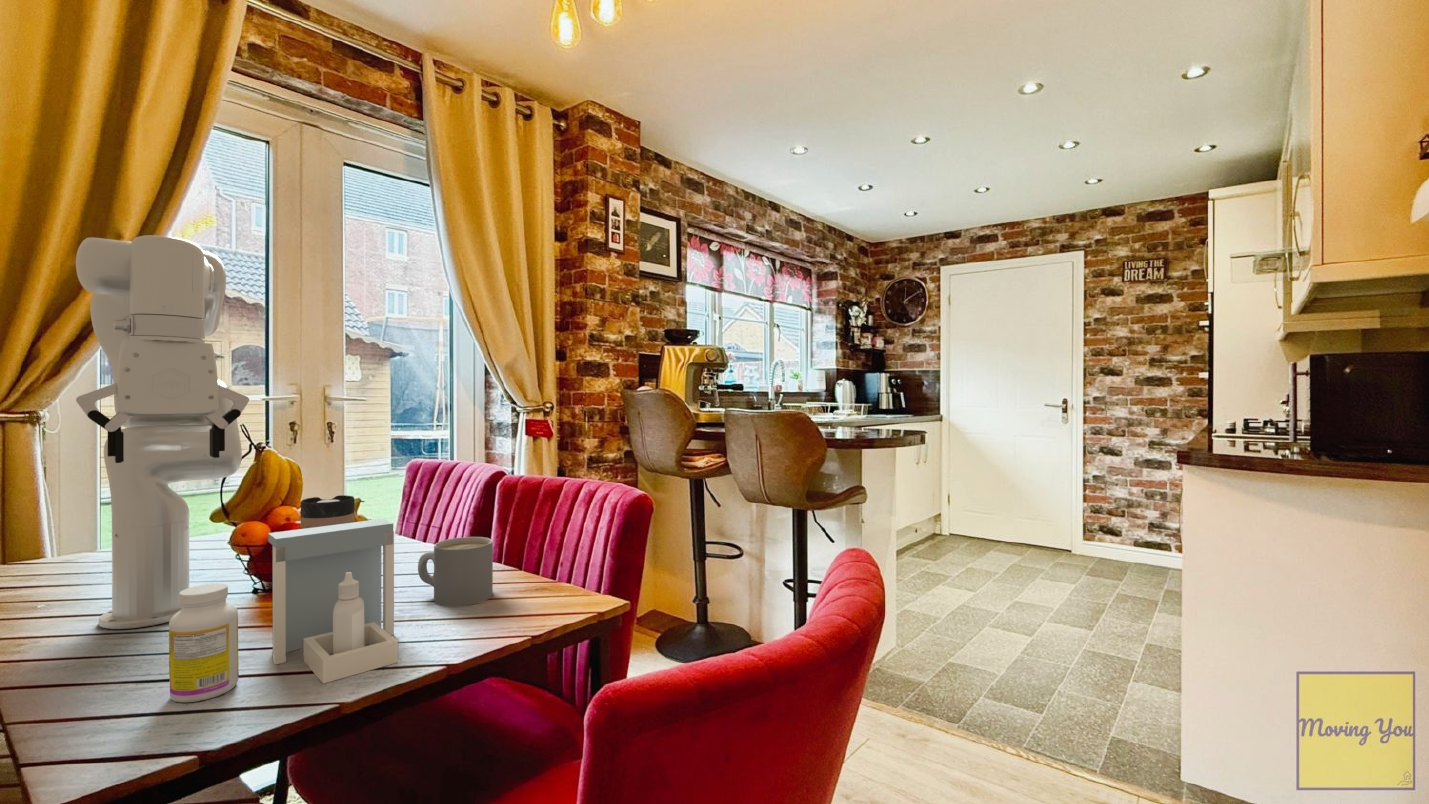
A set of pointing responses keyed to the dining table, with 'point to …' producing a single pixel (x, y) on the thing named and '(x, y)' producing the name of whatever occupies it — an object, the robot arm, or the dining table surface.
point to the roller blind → (328, 578)
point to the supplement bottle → (203, 644)
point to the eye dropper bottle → (348, 617)
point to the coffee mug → (460, 571)
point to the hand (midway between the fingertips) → (168, 459)
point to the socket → (350, 654)
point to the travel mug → (327, 511)
